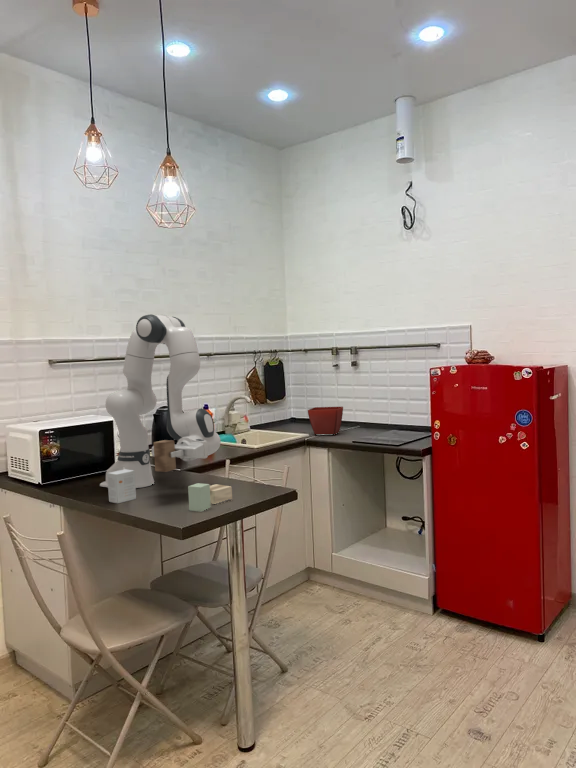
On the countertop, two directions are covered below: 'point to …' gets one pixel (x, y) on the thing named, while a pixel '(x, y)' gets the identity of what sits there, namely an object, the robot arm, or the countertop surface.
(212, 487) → the beech block
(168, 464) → the walnut block
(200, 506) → the sage green block
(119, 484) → the small box
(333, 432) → the plant pot
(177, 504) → the countertop surface
